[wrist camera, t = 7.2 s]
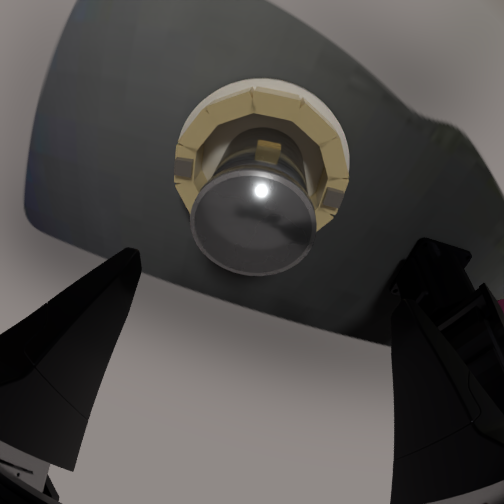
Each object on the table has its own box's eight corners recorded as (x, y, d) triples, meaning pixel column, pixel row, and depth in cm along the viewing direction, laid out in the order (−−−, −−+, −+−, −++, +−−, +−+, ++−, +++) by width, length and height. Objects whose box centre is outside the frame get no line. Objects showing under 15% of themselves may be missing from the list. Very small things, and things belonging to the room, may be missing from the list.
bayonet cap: (293, 215, 20) (294, 290, 15) (215, 199, 20) (187, 270, 14) (318, 128, 16) (337, 178, 10) (227, 109, 16) (195, 148, 10)
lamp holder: (366, 103, 15) (384, 117, 13) (318, 239, 22) (322, 271, 20) (191, 66, 15) (170, 71, 12) (178, 211, 22) (163, 239, 19)
